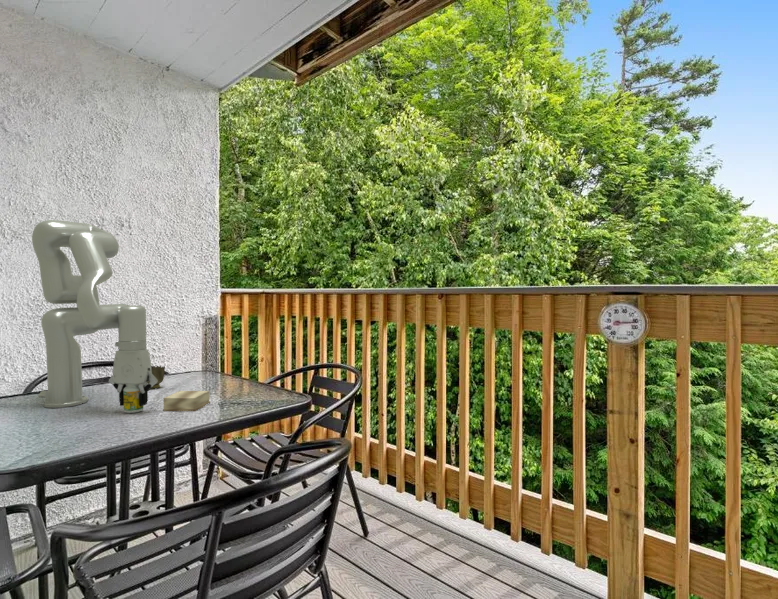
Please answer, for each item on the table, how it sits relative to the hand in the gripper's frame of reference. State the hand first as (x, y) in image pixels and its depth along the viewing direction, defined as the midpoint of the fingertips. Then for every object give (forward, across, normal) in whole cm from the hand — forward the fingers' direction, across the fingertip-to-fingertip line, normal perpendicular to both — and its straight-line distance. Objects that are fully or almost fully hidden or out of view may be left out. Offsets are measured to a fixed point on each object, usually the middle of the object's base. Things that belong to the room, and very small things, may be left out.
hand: (133, 404), depth 153 cm
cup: (+3, -12, +34) cm, 36 cm away
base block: (+2, +14, +7) cm, 15 cm away
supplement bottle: (+2, 0, 0) cm, 2 cm away
